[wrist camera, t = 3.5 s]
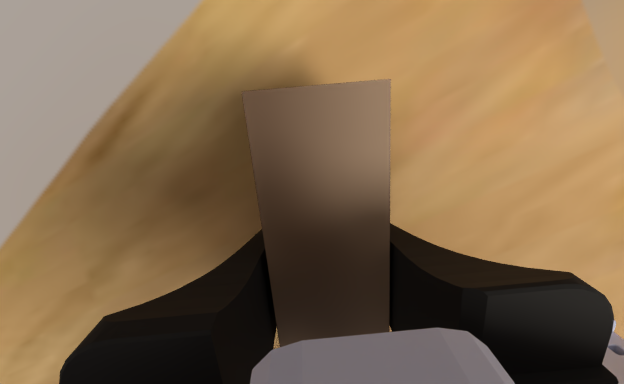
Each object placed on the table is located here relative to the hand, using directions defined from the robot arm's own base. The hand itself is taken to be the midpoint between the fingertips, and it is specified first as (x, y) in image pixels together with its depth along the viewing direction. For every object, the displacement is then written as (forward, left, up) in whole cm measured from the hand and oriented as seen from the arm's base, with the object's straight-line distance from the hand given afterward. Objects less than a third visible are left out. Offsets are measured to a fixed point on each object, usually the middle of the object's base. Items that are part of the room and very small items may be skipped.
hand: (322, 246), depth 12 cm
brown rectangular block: (0, 0, -2) cm, 2 cm away
